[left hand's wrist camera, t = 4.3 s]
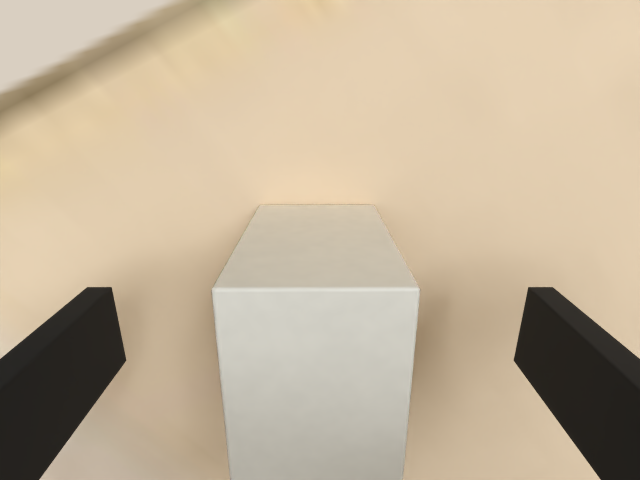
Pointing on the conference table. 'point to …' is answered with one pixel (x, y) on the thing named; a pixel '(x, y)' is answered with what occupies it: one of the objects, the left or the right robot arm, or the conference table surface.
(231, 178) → the conference table surface
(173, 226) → the conference table surface
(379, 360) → the brick
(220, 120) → the conference table surface
